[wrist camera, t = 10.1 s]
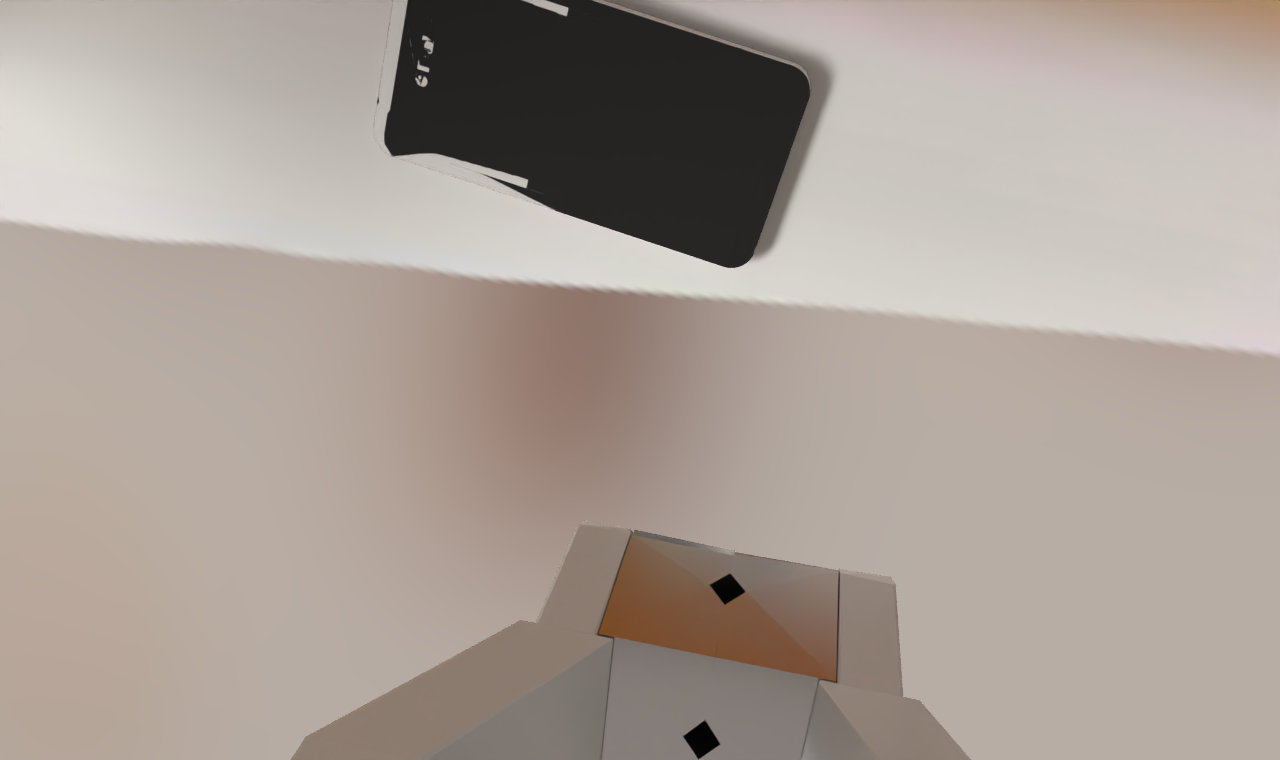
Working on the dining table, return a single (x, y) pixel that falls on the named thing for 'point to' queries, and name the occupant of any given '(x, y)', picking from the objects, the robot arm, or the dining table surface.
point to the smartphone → (594, 115)
